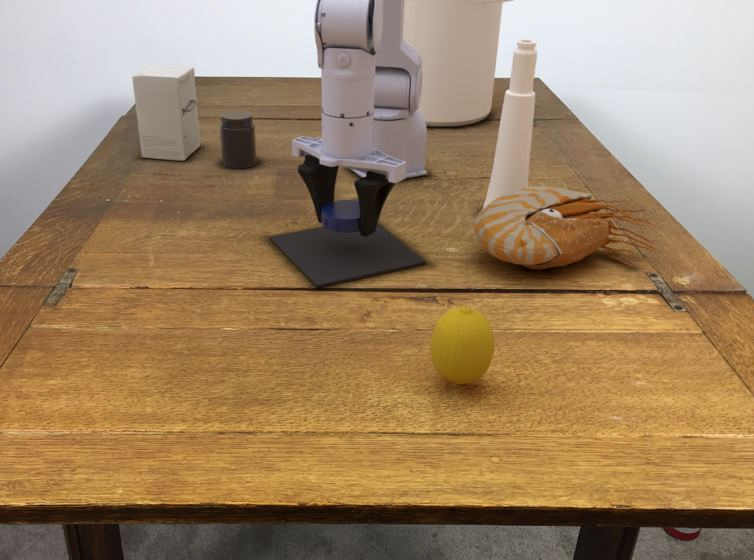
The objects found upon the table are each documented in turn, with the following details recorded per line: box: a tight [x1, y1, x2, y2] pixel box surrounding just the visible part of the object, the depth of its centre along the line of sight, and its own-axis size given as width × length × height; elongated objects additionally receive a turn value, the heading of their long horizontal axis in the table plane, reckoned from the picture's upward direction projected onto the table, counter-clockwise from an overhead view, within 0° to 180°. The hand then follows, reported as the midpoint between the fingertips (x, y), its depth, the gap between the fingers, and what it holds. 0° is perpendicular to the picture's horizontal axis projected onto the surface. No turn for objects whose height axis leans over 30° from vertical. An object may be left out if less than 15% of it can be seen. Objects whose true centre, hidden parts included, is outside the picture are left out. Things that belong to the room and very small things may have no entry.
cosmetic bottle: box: [482, 39, 538, 210], centre depth 98 cm, size 6×6×22 cm
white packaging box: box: [131, 64, 201, 162], centre depth 121 cm, size 7×7×13 cm
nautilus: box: [473, 185, 661, 270], centre depth 91 cm, size 8×22×15 cm
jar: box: [219, 110, 257, 170], centre depth 119 cm, size 5×5×7 cm
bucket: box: [403, 0, 514, 128], centre depth 138 cm, size 26×22×25 cm
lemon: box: [429, 305, 495, 386], centre depth 69 cm, size 6×6×8 cm
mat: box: [269, 222, 427, 289], centre depth 94 cm, size 14×14×1 cm
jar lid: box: [321, 199, 360, 233], centre depth 92 cm, size 6×6×2 cm
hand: (346, 226), depth 92 cm, fingers closed on jar lid, 6 cm apart
